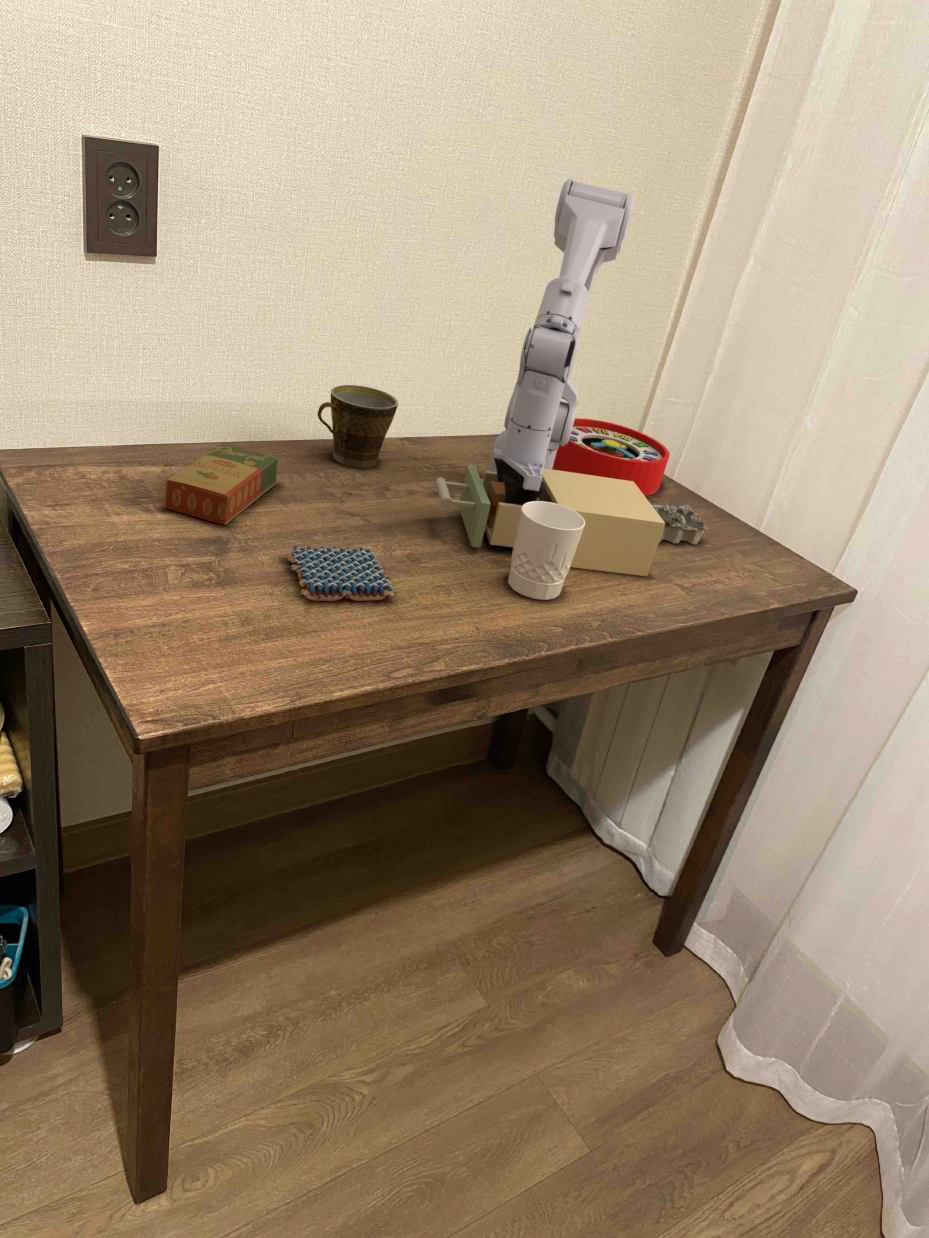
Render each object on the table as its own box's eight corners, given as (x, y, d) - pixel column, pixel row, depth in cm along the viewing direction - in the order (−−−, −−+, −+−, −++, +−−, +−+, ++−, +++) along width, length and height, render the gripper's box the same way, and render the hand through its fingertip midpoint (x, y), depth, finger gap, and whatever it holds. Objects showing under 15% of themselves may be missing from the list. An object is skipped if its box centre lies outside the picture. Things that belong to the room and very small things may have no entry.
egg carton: (644, 543, 135) (653, 518, 132) (623, 520, 141) (631, 496, 139) (706, 546, 138) (715, 522, 136) (683, 524, 144) (691, 500, 142)
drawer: (437, 542, 118) (447, 498, 115) (427, 501, 129) (435, 460, 125) (569, 559, 122) (582, 516, 119) (548, 518, 133) (559, 478, 130)
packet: (488, 527, 122) (496, 493, 120) (482, 513, 126) (490, 480, 124) (530, 533, 124) (539, 499, 121) (524, 519, 127) (533, 486, 125)
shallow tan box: (545, 564, 121) (560, 508, 117) (524, 519, 133) (537, 467, 129) (647, 576, 124) (665, 523, 120) (617, 531, 136) (633, 481, 132)
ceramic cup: (361, 444, 145) (371, 383, 140) (400, 469, 140) (412, 406, 135) (292, 451, 137) (300, 386, 132) (331, 478, 131) (340, 411, 126)
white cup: (546, 610, 110) (568, 535, 105) (491, 584, 113) (509, 510, 108) (574, 590, 116) (595, 519, 111) (521, 565, 119) (540, 495, 114)
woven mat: (370, 559, 112) (373, 544, 111) (395, 604, 103) (398, 588, 102) (285, 558, 107) (287, 542, 106) (304, 604, 99) (306, 588, 98)
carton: (162, 509, 112) (164, 477, 110) (219, 469, 126) (221, 440, 124) (226, 527, 111) (229, 494, 109) (276, 484, 125) (279, 455, 123)
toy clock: (616, 418, 168) (693, 461, 155) (608, 448, 171) (682, 492, 157) (532, 418, 157) (607, 464, 143) (524, 450, 160) (597, 498, 146)
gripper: (492, 400, 123) (471, 492, 130) (512, 438, 111) (488, 538, 117) (542, 408, 125) (519, 499, 131) (567, 446, 112) (540, 544, 119)
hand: (507, 518), depth 124 cm, fingers closed on packet, 4 cm apart
